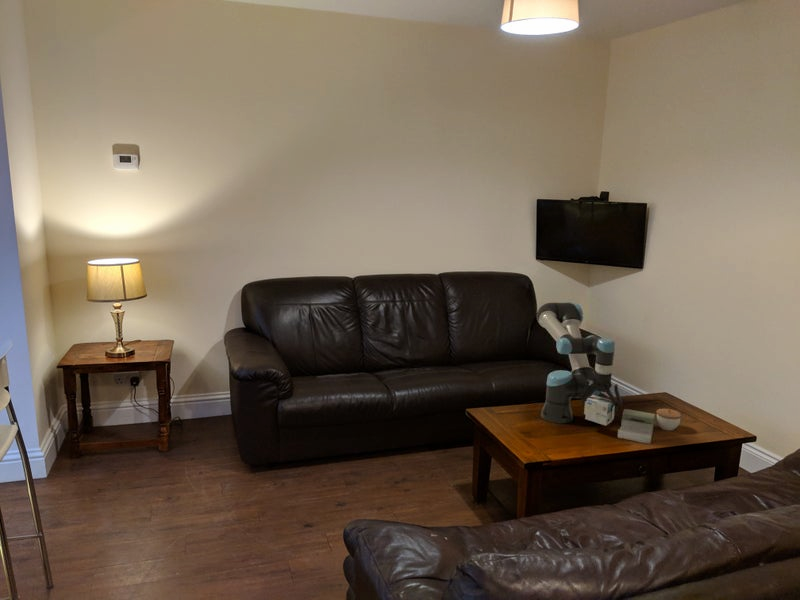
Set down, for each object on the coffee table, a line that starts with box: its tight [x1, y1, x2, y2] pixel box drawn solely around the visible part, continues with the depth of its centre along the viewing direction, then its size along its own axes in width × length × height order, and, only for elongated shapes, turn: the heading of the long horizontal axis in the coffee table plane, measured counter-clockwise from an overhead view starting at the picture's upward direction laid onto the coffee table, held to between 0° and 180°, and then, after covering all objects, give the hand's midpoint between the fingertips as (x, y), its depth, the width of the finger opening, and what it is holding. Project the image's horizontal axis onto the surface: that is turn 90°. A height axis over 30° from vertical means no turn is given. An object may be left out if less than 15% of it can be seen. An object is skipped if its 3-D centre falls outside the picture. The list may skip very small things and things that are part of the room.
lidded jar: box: [656, 408, 682, 431], centre depth 287 cm, size 11×11×9 cm
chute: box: [617, 418, 654, 445], centre depth 279 cm, size 14×15×4 cm
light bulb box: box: [584, 395, 614, 426], centre depth 281 cm, size 11×7×11 cm, turn 47°
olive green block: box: [621, 408, 656, 428], centre depth 289 cm, size 14×7×6 cm, turn 64°
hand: (598, 415), depth 281 cm, fingers closed on light bulb box, 12 cm apart
